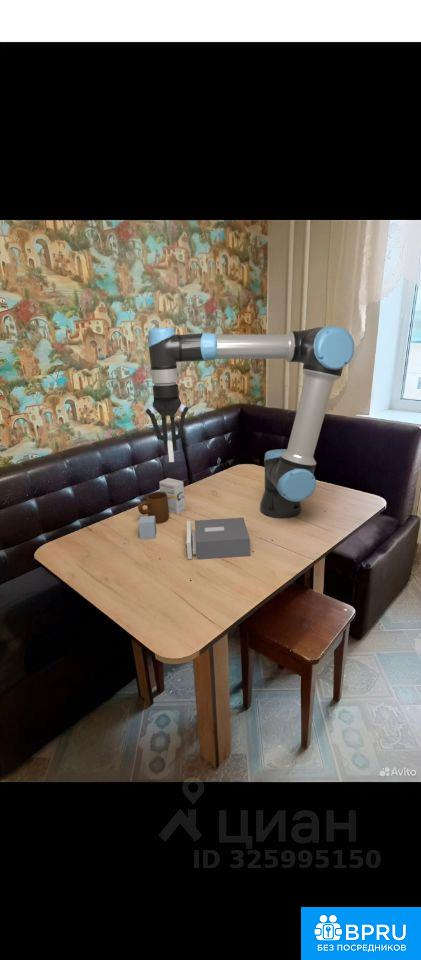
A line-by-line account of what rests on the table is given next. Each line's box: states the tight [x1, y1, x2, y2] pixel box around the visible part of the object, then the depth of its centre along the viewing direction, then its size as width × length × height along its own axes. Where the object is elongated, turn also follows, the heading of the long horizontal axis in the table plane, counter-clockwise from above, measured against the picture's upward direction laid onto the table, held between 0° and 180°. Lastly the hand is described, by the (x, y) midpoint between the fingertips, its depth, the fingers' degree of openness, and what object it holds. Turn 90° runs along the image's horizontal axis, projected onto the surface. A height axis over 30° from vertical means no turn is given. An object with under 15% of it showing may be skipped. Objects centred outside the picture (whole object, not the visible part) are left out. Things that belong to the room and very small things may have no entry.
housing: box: [194, 517, 251, 561], centre depth 127 cm, size 16×15×6 cm
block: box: [138, 515, 157, 540], centre depth 136 cm, size 5×5×6 cm
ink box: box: [159, 477, 186, 515], centre depth 155 cm, size 8×5×12 cm, turn 52°
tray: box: [185, 520, 196, 560], centre depth 127 cm, size 16×15×6 cm
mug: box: [137, 491, 170, 524], centre depth 146 cm, size 12×8×9 cm, turn 134°
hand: (171, 460), depth 127 cm, fingers closed
